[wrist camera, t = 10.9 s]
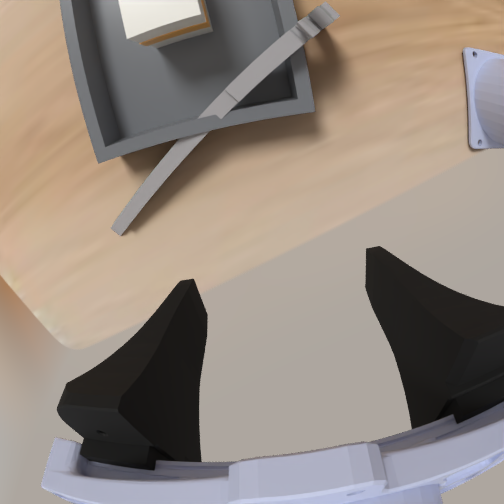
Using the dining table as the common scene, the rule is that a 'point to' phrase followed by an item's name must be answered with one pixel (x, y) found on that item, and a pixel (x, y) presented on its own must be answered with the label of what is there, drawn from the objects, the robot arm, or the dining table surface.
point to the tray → (178, 73)
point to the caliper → (228, 104)
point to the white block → (164, 20)
